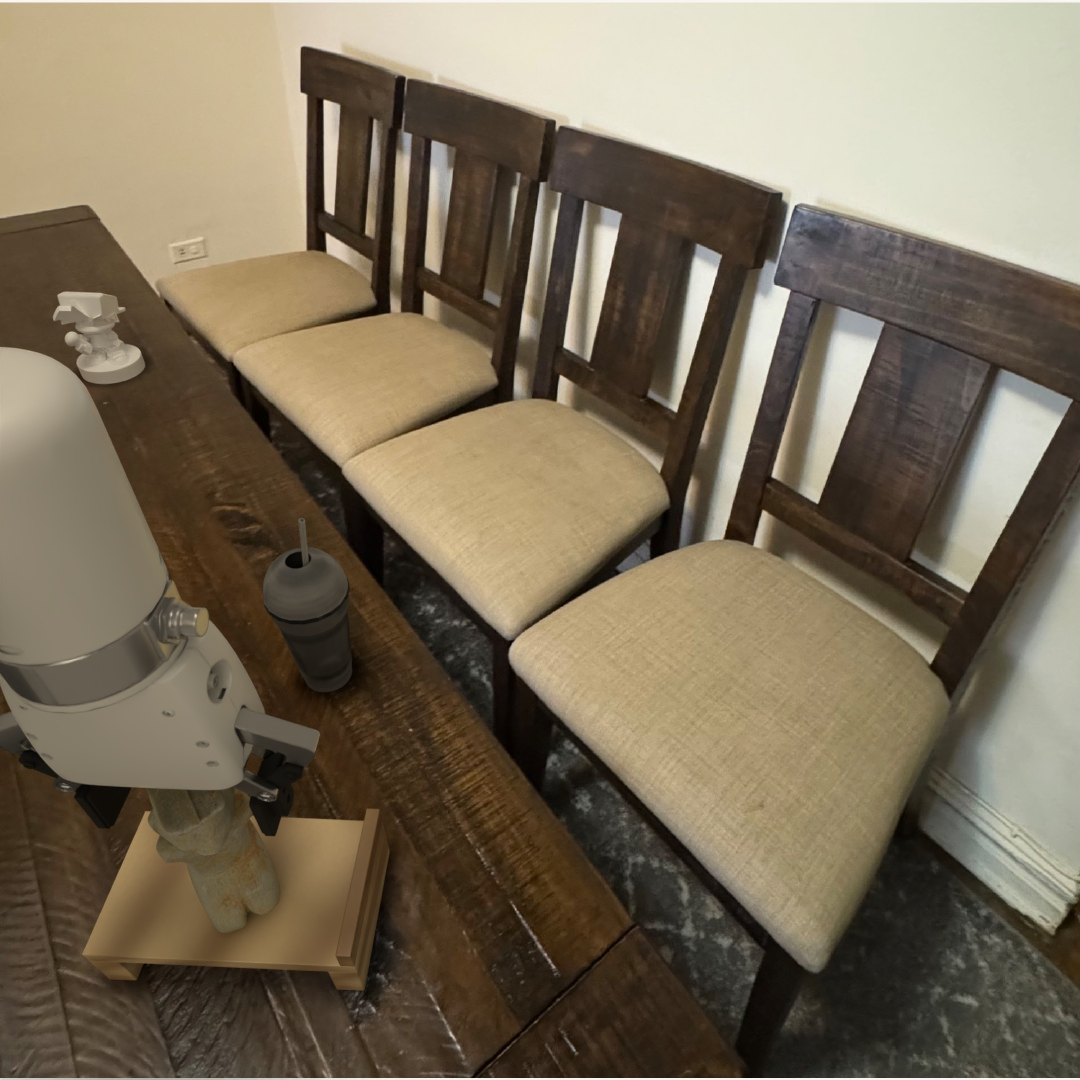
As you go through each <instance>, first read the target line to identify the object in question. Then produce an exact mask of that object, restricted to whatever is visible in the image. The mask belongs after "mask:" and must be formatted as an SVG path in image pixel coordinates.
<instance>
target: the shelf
mask: <svg viewBox="0 0 1080 1080" xmlns="http://www.w3.org/2000/svg"><path fill="white" fill-rule="evenodd" d="M150 812H151V810H145V811H144V814H143V815H142V818H141V820H140V822H139V824H138V827H137V830H136V832H135V834H134V836H133V838H132V841H131V843H130V845H129V847H128V849H127V853H126V854H125V857H124V858H123V861H122V863H121V865H120V868H119V870H118V872H117V874H116V877H115V879H114V881H113V883H112V886H111V888H110V889H109V890H110V891H109V893H108V895H107V897H106V898H105V902H104V904H103V906H102V908H101V910H100V913H99V915H98V918H97V920H96V922H95V924H94V926H93V928H92V931H91V932H90V933H91V934H90V936H89V938H88V940H87V942H86V944H85V947H84V949H83V951H82V953H81V954H82V957H84V958H85V959H86V960H87V961H88V962H90V963H91V965H93V966H94V967H95V968H96V969H97V970H98V971H100V972H101V974H103V976H105V977H106V978H108V980H115V981H117V980H118V981H138V979H139V977H140V974H141V971H142V968H143V966H144V964H149V965H150V964H151V965H169V966H170V965H172V966H173V965H174V966H192V967H193V966H195V967H216V968H217V967H218V968H240V969H259V970H260V969H261V970H263V969H264V970H285V971H306V972H307V971H309V972H328V974H329V977H330V979H331V981H332V983H333V985H334V987H335V989H336V990H338V991H340V990H341V991H362V992H363V991H365V990H366V985H367V978H368V973H369V968H370V964H371V963H370V962H371V956H372V951H373V946H374V940H375V934H376V929H377V923H378V917H379V912H380V907H381V902H382V896H383V891H384V885H385V879H386V874H387V868H388V863H389V857H390V846H389V842H388V839H387V835H386V829H385V826H384V822H383V817H382V813H381V809H380V808H366V809H365V814H364V818H363V820H352V819H331V818H307V817H289V816H282V817H281V820H280V823H279V827H278V830H277V833H276V835H275V836H265V835H264V833H262V832H261V830H260V828H259V826H258V823H257V821H256V819H255V817H254V815H252V816H251V818H250V820H251V821H252V823H253V824H254V826H255V827H256V829H257V831H258V833H259V835H260V837H261V839H262V841H263V843H264V845H265V847H266V850H267V852H268V854H269V856H270V859H271V861H272V864H273V867H274V869H275V872H276V875H277V878H278V882H279V885H280V892H281V894H280V900H279V902H278V904H277V905H276V907H275V908H274V909H273V910H272V911H271V912H270V913H268V914H266V915H259V914H255V913H252V912H250V913H249V914H248V919H247V924H246V926H244V927H243V928H241V929H238V930H236V931H233V932H229V933H221V932H219V931H217V930H216V929H215V927H214V926H213V924H212V922H211V921H210V919H209V917H208V916H207V914H206V912H205V910H204V908H203V906H202V904H201V902H200V900H199V898H198V896H197V894H196V891H195V889H194V887H193V884H192V881H191V878H190V875H189V872H188V868H187V864H186V863H184V862H175V863H166V862H165V861H164V860H163V859H162V857H161V856H160V855H159V853H158V852H157V850H156V844H157V841H158V838H159V836H160V835H159V834H157V833H156V832H154V831H153V829H152V828H151V827H150V825H149V823H148V816H149V814H150Z"/></svg>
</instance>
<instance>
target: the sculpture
mask: <svg viewBox="0 0 1080 1080" xmlns="http://www.w3.org/2000/svg"><path fill="white" fill-rule="evenodd" d="M145 790H146V793H147V796H148V798H149V799H148V800H149V801H150V804H151V806H152V807H151V808H152V809H151V810H150V811H151V812H150V814H149V816H148V823H149V825H150V827H151V828H152V829H153V831H154V832H156V833H157V834H159V835H160V836H159V838H158V841H157V844H156V850H157V852H158V853H159V855H160V856H161V857H162V859H163V860H164V861H165V862H166V863H175V862H184V863H186V864H187V868H188V872H189V875H190V878H191V881H192V884H193V887H194V889H195V891H196V894H197V896H198V898H199V900H200V902H201V904H202V906H203V908H204V910H205V912H206V914H207V916H208V917H209V919H210V921H211V922H212V924H213V926H214V927H215V929H216V930H217V931H219V932H221V933H229V932H233V931H236V930H238V929H241V928H243V927H244V926H246V924H247V919H248V914H249V913H250V912H252V913H255V914H259V915H266V914H268V913H270V912H271V911H272V910H273V909H274V908H275V907H276V905H277V904H278V902H279V900H280V894H281V892H280V885H279V882H278V878H277V875H276V872H275V869H274V867H273V864H272V861H271V859H270V856H269V854H268V852H267V850H266V847H265V845H264V843H263V841H262V839H261V837H260V835H259V833H258V831H257V829H256V827H255V826H254V824H253V823H252V821H251V820H250V818H251V816H253V813H252V811H251V809H250V807H249V801H250V798H251V796H250V795H249V794H247V793H245V792H243V791H241V790H239V789H237V788H235V787H233V786H232V787H230V788H227V789H221V790H185V789H160V788H145Z"/></svg>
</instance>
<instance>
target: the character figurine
mask: <svg viewBox="0 0 1080 1080" xmlns="http://www.w3.org/2000/svg"><path fill="white" fill-rule="evenodd" d="M56 296H57V297H56V298H57V301H58V303H59V305H58V306H57V307H56V308H55V311H54V313H53V315H52V319H53V322H57V321H60V324H61V325H62V326H63V325H67V324H72V323H75V325H74V329H75V330H76V331H78V332H79V333H77V332H76V331H69V332H67V333H66V334H65V336H64V342H65V344H66V345H67V346H68V347H74V350H76V351H77V352H79V353H80V355H79V356H78V357H77V359H76V366H77V369H78V371H79V373H80V375H81V377H82V378H83V380H84V381H86V382H88V383H91V384H97V385H110V384H118V383H122V382H126V381H129V380H131V379H133V378H135V377H138V375H140V374H141V373H142V372H144V370H145V368H146V361H145V359H144V356H143V355H142V351H141V349H139V347H137V346H135V345H132V344H130V343H129V344H128V343H125V342H124V341H123V340H121V339H119V335H118V334H117V333H116V331H114V330H113V328H114V327H115V326H116V323H120V319H119V316H118V315H119V314H122V313H124V312H126V307H124V306H123V307H122V306H119V302H118V298H117V296H116V295H113V294H106V293H102V292H87V291H85V292H84V291H62V292H61V293H58V294H57V295H56ZM80 333H81V334H80Z"/></svg>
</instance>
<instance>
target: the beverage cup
mask: <svg viewBox="0 0 1080 1080" xmlns="http://www.w3.org/2000/svg"><path fill="white" fill-rule="evenodd" d="M298 530H299V539H300V540H299V541H300V547H295V548H292V549H289V550H287V551H284V552H283V553H282V554H280V555H278V556H277V557H276V558H275V559H274V560H273V562H272V563H271V564H270V565H269V567H268V569H267V570H266V573H265V576H264V579H263V583H262V600H263V601H262V602H263V607H264V609H265V610H266V612H267V614H268V615H269V616H270V617H271V619H272V620H273V622H274V623H275V624H276V626H277V628H278V629H279V631H280V633H281V635H282V637H283V639H284V642H285V644H286V645H287V648H288V650H289V652H290V654H291V657H292V658H293V661H294V663H295V665H296V667H297V670H298V671H299V674H300V675H301V676H302V678H303V679H304V681H305V684H306V685H307V687H308V688H309V689H311V690H312V691H315V692H317V693H331V692H334V691H337V690H339V689H342V688H343V687H344V686H345V685H346V684H347V683H348V682H349V680H350V679H351V677H352V675H353V664H352V663H353V654H352V643H351V634H350V633H351V632H350V631H351V630H350V621H349V620H350V619H349V611H348V609H349V608H348V607H349V599H350V590H351V587H350V582H349V578H348V577H347V575H346V574H345V571H344V569H343V567H342V566H341V564H339V562H338V561H337V559H335V558H334V556H332V555H330V554H329V553H327V552H325V551H324V550H322V549H318V548H314V547H311V546H310V547H308V540H307V539H308V538H307V529H306V519H305V518H303V517H301V518H298Z"/></svg>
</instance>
